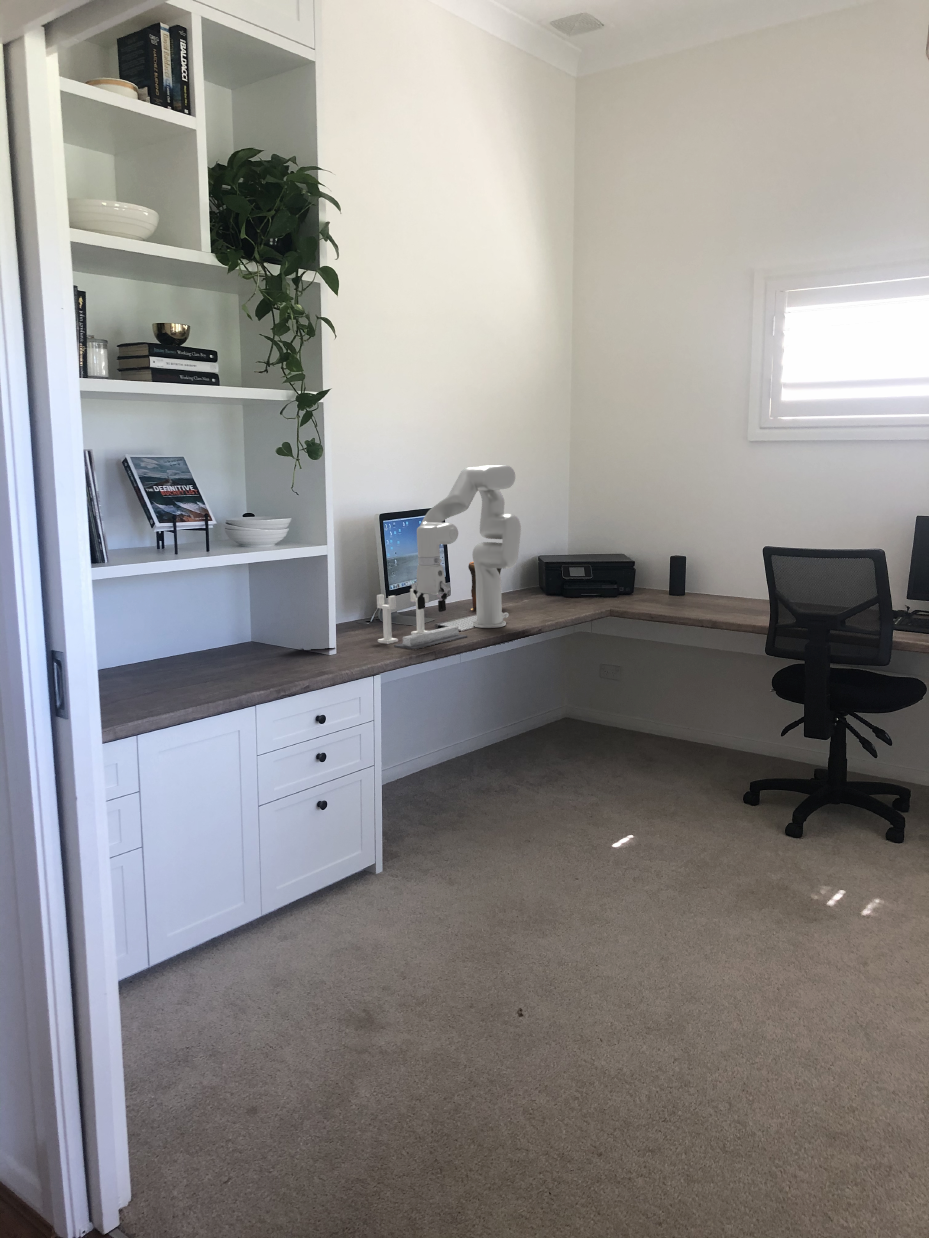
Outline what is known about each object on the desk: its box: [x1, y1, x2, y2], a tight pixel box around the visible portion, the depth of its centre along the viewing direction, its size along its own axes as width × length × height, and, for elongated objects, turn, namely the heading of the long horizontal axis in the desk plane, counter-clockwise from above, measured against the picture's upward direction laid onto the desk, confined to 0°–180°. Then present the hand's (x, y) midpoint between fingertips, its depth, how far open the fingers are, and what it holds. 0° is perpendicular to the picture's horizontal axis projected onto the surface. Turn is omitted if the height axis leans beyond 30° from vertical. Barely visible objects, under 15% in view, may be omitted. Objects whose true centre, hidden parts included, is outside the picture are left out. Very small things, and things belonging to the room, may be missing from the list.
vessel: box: [467, 561, 502, 613], centre depth 397 cm, size 14×14×20 cm
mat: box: [393, 634, 468, 650], centre depth 332 cm, size 27×10×1 cm, turn 140°
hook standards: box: [376, 588, 430, 645], centre depth 339 cm, size 22×7×16 cm, turn 140°
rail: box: [402, 625, 460, 647], centre depth 332 cm, size 25×4×3 cm, turn 140°
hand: (431, 610), depth 331 cm, fingers open, 9 cm apart
